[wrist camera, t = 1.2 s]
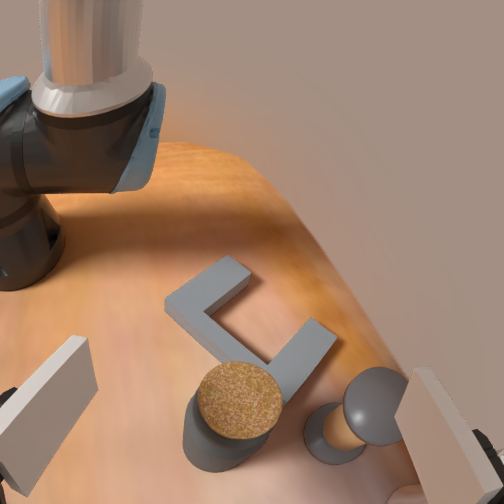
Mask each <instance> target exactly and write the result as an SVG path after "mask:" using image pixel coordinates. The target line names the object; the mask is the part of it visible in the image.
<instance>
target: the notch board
mask: <svg viewBox="0 0 504 504" xmlns="http://www.w3.org/2000/svg"><path fill="white" fill-rule="evenodd" d="M250 276H251V272H250V271H249V270H247V269H246V268H245V267H243V266H242V265H241V264H240V263H238V262H237V261H236V260H234V259H233V258H232V257H230V256H229V255H226V256H225V257H223V258H222V259H220V260H219V261H218V262H216V263H215V264H213V265H212V266H210V267H209V268H207V269H206V270H205V271H203V272H202V273H200V274H199V275H197V276H196V277H195V278H193V279H192V280H190V281H189V282H187V283H186V284H185V285H183V286H182V287H180V288H179V289H177V290H176V291H175V292H173V293H172V294H170V295H169V296H167V297H166V298H165V312H166V313H167V314H168V315H169V316H170V317H172V318H173V319H174V320H175V321H176V322H177V323H178V324H179V325H180V326H181V327H182V328H183V329H184V330H185V331H186V332H188V333H189V334H190V335H191V336H192V337H193V338H194V339H195V340H196V341H197V342H199V343H200V344H201V345H202V346H203V347H204V348H205V349H206V350H208V351H209V352H210V353H211V354H212V355H213V356H214V357H215V358H217V359H218V360H219V361H220V362H221V363H222V364H224V363H228V362H235V361H239V362H247V363H251V364H254V365H256V366H259V367H260V368H262V369H264V370H265V371H267V372H268V373H269V374H270V375H271V376H272V377H273V378H274V380H275V381H276V382H277V384H278V386H279V388H280V390H281V394H282V399H283V406H284V405H285V404H286V403H287V402H288V401H289V400H290V398H291V397H292V396H293V395H294V394H295V392H296V391H297V390H298V389H299V387H300V386H301V385H302V384H303V382H304V381H305V380H306V379H307V377H308V376H309V375H310V373H311V372H312V371H313V370H314V368H315V367H316V366H317V364H318V363H319V362H320V360H321V359H322V358H323V356H324V355H325V354H326V352H327V351H328V350H329V348H330V347H331V346H332V344H333V343H334V342H335V340H336V339H337V336H335V335H334V334H333V333H331V332H330V331H329V330H327V329H326V328H325V327H323V326H322V325H321V324H319V323H318V322H316V321H315V320H314V319H312V318H311V317H310V318H309V319H308V321H307V322H306V323H305V324H304V325H303V326H302V327H301V329H300V330H299V331H298V332H297V333H296V334H295V335H294V337H293V338H292V339H291V340H290V341H289V342H288V343H287V344H286V345H285V347H284V348H283V349H282V350H281V351H280V352H279V353H278V354H277V355H276V356H275V358H274V359H273V360H272V361H271V362H270V363H269V364H268V365H267V364H265V363H264V362H263V361H262V360H260V359H259V358H258V357H257V356H255V355H254V354H253V353H252V352H251V351H249V350H248V349H247V348H246V347H244V346H243V345H242V344H241V343H240V342H238V341H237V340H236V339H235V338H234V337H232V336H231V335H230V334H229V333H228V332H226V331H225V330H224V329H223V328H222V327H221V326H219V325H218V324H217V323H216V322H215V321H213V320H212V319H211V318H210V316H211V315H212V314H213V313H215V312H216V311H217V310H218V309H220V308H221V307H222V306H223V305H224V304H226V303H227V302H228V301H229V300H231V299H232V298H233V297H234V296H235V295H237V294H238V293H239V292H240V291H241V290H243V289H244V288H245V287H246V286H248V283H249V280H250ZM283 406H282V407H283Z"/></svg>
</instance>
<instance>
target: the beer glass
mask: <svg viewBox="0 0 504 504" xmlns="http://www.w3.org/2000/svg"><path fill="white" fill-rule="evenodd" d="M496 452H497V456H499V457H500V459H501V461H502V462H503V464H504V449H501V450H499V451H496ZM387 504H428V502H427V499H426V496H425V493H424V491H423V488H422V485H406V486H403V487H401V488H399V489H397V490H396V491H395V492H394V493H393V494H392V495H391V496H390V498H389V499H388V501H387Z"/></svg>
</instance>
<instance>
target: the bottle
mask: <svg viewBox="0 0 504 504" xmlns="http://www.w3.org/2000/svg"><path fill="white" fill-rule="evenodd" d="M282 406H283V399H282V394H281V390H280V388H279V386H278V384H277V382H276V381H275V380H274V378H273V377H272V376H271V375H270V374H269V373H268V372H267V371H265V370H264V369H262V368H260V367H259V366H256V365H254V364H251V363H247V362H239V361H235V362H228V363H224V364H221V365H218V366H217V367H215V368H213V369H212V370H211V371H210V372H209V373H207V375H206V376H205V377H204V378H203V380H202V382H201V384H200V386H199V388H198V389H197V391H196V393H195V395H194V396H193V397H192V398H191V400H190V402H189V404H188V406H187V409H186V414H185V421H184V431H183V449H184V452H185V455H186V457H187V458H188V460H189V461H190V462H191V463H192V464H193V465H194V466H196V467H197V468H199V469H201V470H203V471H207V472H213V473H217V472H223V471H226V470H229V469H231V468H233V467H234V466H236V465H238V464H239V463H241V462H242V461H244V460H245V459H247V458H248V457H250V456H251V455H253V454H254V453H255V452H256V451H258V450H259V449H260V448H261V447H262V446H263V444H264V443H265V442H266V440H267V438H268V436H269V433H270V432H271V431H272V429H273V427H274V425H275V424H276V423H277V421H278V419H279V417H280V415H281V412H282Z"/></svg>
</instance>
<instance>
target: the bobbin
mask: <svg viewBox="0 0 504 504" xmlns="http://www.w3.org/2000/svg"><path fill="white" fill-rule="evenodd" d="M408 383H409V382H408V381H407V380H406V379H405V378H404V377H403V376H402V375H400V374H399V373H397V372H395V371H393V370H391V369H388V368H384V367H374V368H370V369H367V370H365V371H363V372H362V373H360V374H359V375H358V376H357V377H356V378H354V379H353V380H352V381H351V382H350V384H349V385H348V387H347V389H346V391H345V393H344V397H343V403H329V404H326V405H324V406H322V407H320V408H319V409H317V410H316V411H315V412H314V413H313V414H312V415H311V416H310V417H309V419H308V420H307V422H306V425H305V429H304V440H305V444H306V446H307V448H308V450H309V452H310V453H311V454H312V455H313V456H314V457H315V458H316V459H317V460H319V461H321V462H323V463H326V464H331V465H338V464H343V463H346V462H349V461H351V460H353V459H355V458H356V457H357V456H358V455H359V454H360V453H361V452H362V451H363V449H364V447H365V445H366V443H367V444H369V445H373V446H387V445H391V444H393V443H396V442H398V441H400V440H402V439H403V437H402V434H401V432H400V429H399V427H398V425H397V422H396V420H395V418H394V416H395V414H396V412H397V409H398V407H399V405H400V402H401V400H402V398H403V395H404V393H405V390H406V388H407V385H408Z"/></svg>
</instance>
